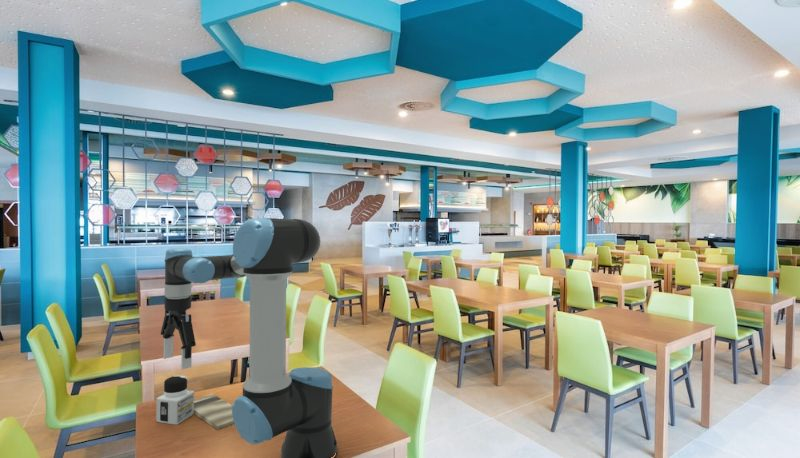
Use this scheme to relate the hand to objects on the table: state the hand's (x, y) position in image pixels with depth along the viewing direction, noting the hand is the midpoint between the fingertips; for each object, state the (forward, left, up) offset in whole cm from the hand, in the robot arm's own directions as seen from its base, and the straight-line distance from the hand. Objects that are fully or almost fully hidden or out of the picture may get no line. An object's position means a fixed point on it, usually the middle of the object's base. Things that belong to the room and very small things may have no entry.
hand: (177, 362), depth 133 cm
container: (0, 0, -18) cm, 18 cm away
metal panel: (-5, -10, -18) cm, 21 cm away
